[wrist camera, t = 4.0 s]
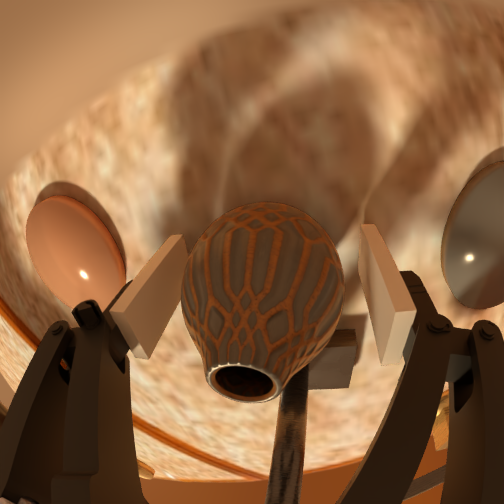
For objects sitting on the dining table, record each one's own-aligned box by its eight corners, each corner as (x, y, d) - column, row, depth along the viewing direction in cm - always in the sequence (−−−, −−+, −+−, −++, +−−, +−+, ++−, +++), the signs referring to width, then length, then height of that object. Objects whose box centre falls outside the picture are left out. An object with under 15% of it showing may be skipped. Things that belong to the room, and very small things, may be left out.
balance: (151, 364, 23) (87, 505, 10) (129, 323, 21) (40, 482, 8) (446, 360, 18) (480, 522, 5) (466, 315, 15) (527, 502, 2)
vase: (197, 193, 14) (100, 297, 7) (332, 179, 13) (374, 290, 5) (224, 298, 18) (180, 421, 10) (335, 293, 16) (347, 429, 9)
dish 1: (63, 304, 22) (57, 310, 21) (20, 206, 17) (12, 211, 16) (144, 312, 20) (138, 321, 19) (97, 183, 15) (88, 188, 14)
